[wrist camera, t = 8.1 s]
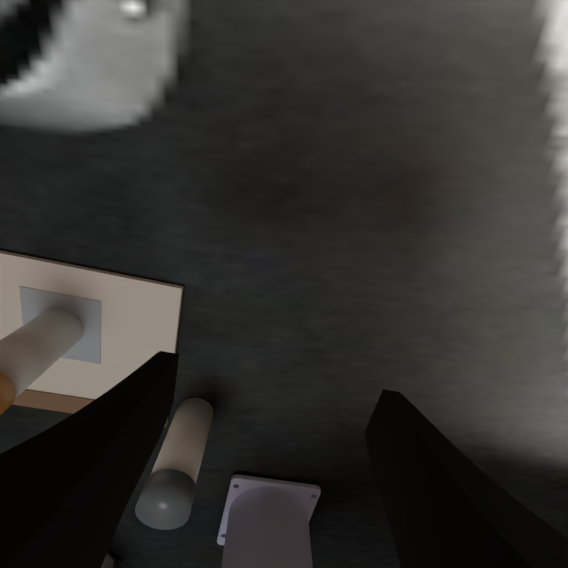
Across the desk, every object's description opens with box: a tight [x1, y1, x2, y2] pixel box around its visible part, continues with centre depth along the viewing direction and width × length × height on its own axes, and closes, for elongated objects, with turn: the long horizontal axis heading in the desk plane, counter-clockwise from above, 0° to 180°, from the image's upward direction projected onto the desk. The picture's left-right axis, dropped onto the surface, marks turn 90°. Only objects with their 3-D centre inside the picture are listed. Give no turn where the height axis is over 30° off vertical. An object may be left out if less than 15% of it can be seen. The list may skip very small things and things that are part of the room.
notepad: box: [0, 250, 184, 427], centre depth 21 cm, size 12×13×1 cm
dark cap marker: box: [135, 398, 213, 530], centre depth 21 cm, size 3×3×8 cm
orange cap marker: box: [0, 308, 84, 415], centre depth 17 cm, size 3×3×8 cm
